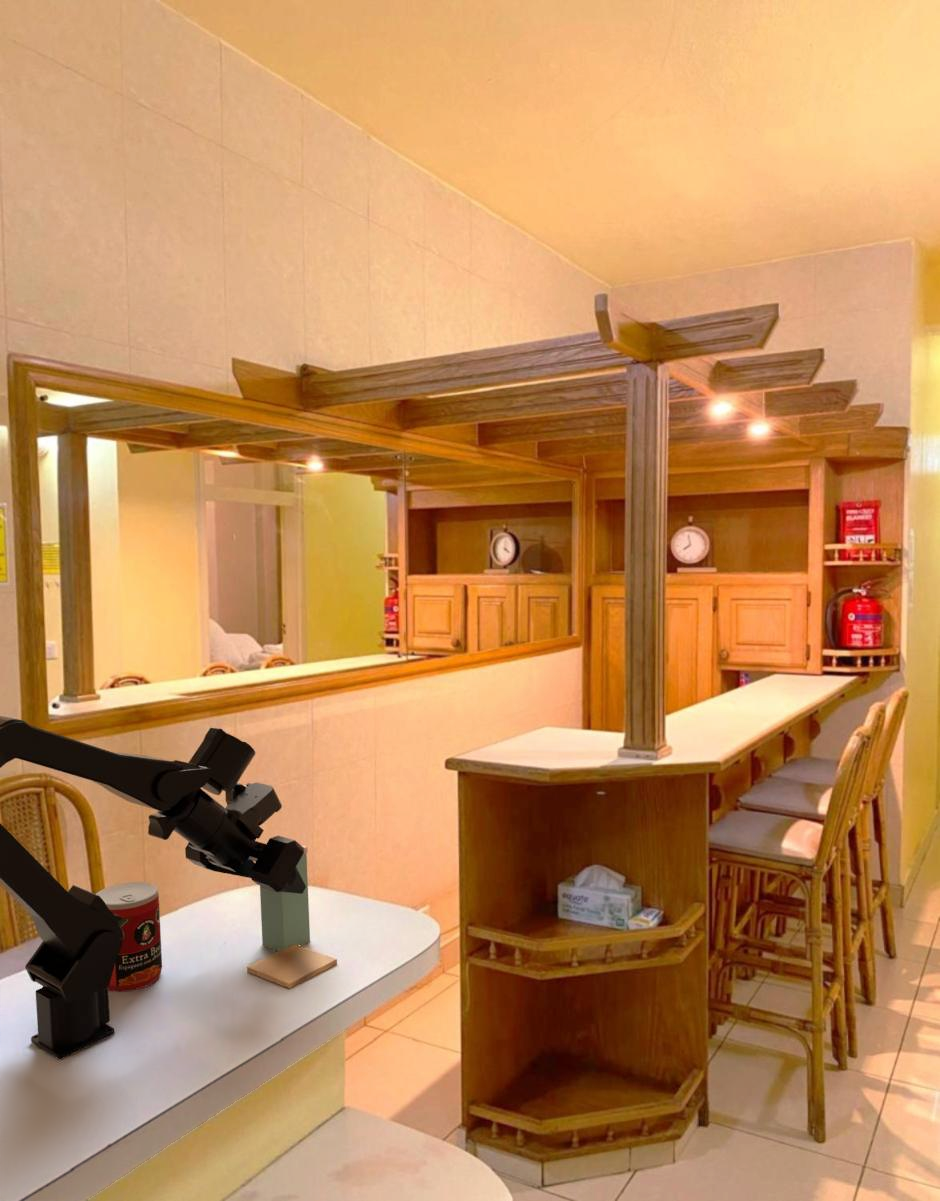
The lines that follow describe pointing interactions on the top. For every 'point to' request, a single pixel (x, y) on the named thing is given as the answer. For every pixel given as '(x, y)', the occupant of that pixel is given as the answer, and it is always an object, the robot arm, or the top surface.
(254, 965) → the coaster
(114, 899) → the canned food
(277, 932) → the tea tin
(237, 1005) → the top surface
